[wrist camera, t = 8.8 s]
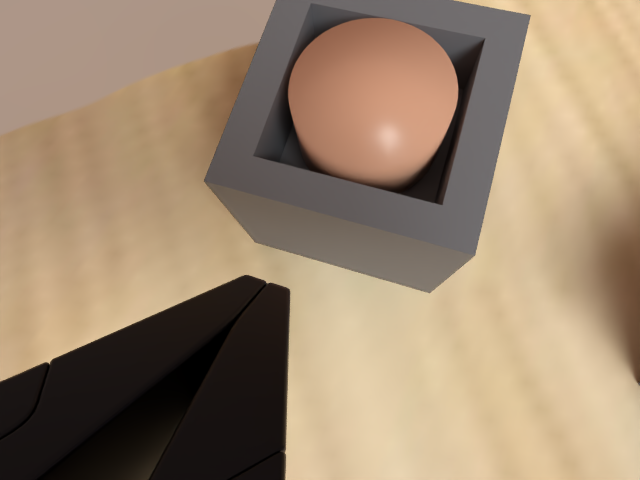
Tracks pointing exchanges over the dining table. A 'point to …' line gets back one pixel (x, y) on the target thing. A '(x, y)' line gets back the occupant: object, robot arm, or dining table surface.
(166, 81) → the dining table surface
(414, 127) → the terracotta button
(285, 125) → the terracotta button housing
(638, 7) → the dining table surface
